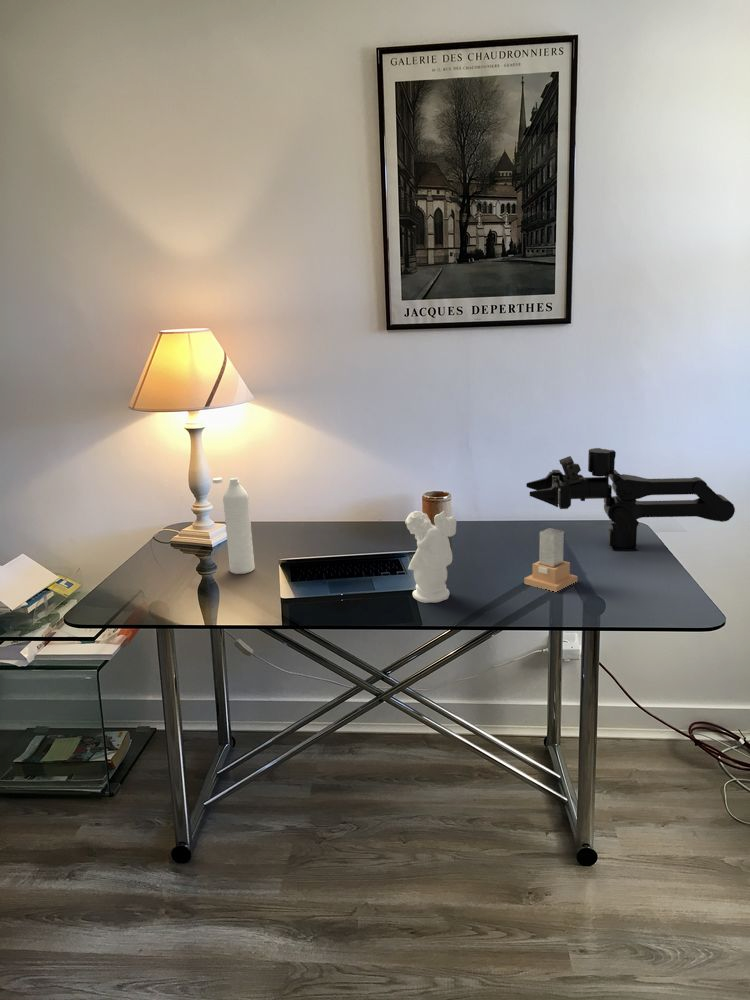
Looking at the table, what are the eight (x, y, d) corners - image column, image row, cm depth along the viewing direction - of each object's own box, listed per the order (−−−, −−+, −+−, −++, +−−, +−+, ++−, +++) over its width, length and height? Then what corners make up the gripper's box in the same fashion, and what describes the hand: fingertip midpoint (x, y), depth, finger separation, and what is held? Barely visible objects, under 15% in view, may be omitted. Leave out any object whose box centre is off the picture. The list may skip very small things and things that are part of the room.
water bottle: (256, 565, 212) (248, 474, 205) (252, 573, 206) (244, 480, 199) (224, 566, 212) (215, 475, 205) (219, 575, 206) (209, 482, 199)
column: (548, 572, 193) (549, 527, 190) (563, 576, 190) (564, 531, 187) (538, 577, 190) (539, 531, 187) (553, 581, 187) (554, 535, 184)
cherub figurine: (402, 594, 188) (398, 505, 182) (442, 581, 195) (439, 495, 189) (435, 609, 178) (431, 515, 173) (475, 595, 185) (473, 504, 180)
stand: (545, 573, 197) (545, 554, 195) (577, 581, 190) (577, 562, 189) (524, 583, 191) (524, 564, 189) (556, 592, 185) (556, 572, 183)
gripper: (582, 451, 217) (524, 452, 218) (594, 466, 199) (531, 467, 200) (581, 490, 220) (524, 491, 221) (593, 509, 202) (531, 510, 203)
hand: (527, 489), depth 211 cm, fingers open, 9 cm apart
